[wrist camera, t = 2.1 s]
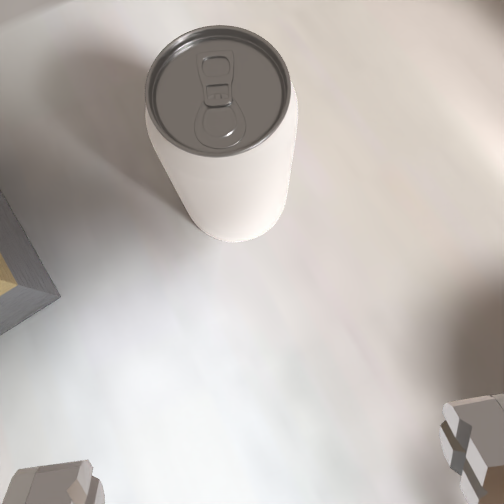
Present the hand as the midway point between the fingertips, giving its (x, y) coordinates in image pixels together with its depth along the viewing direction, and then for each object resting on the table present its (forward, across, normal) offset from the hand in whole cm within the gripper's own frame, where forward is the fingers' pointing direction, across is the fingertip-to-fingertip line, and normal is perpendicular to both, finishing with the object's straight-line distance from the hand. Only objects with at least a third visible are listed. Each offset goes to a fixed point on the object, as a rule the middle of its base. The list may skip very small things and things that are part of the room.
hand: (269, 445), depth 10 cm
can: (+20, 0, +3) cm, 21 cm away
